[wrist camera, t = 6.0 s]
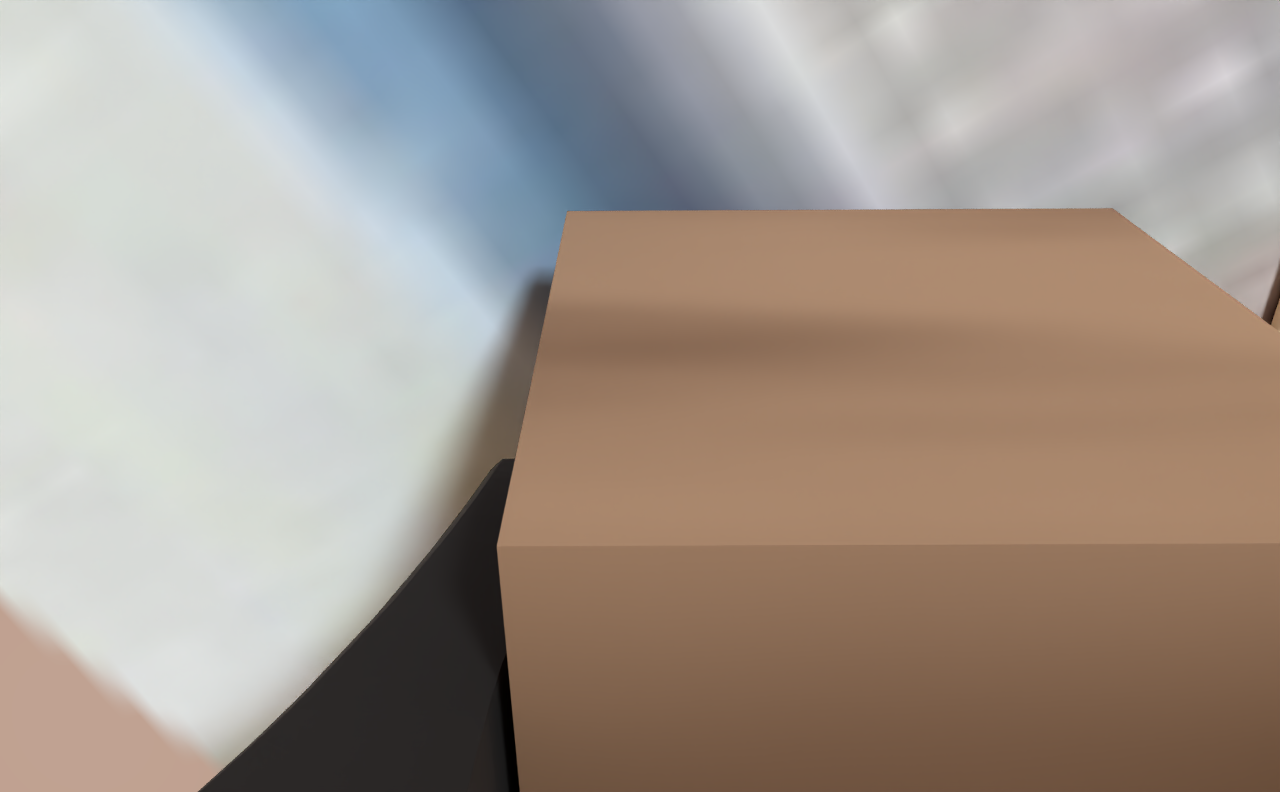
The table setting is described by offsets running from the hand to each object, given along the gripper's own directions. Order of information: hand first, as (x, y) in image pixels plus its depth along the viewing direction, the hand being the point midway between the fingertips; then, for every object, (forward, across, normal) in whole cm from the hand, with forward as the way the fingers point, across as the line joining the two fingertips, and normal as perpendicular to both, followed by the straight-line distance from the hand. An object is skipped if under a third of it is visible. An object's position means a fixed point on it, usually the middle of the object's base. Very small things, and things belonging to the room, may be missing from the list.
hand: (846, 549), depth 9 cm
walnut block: (+2, 0, 0) cm, 2 cm away
